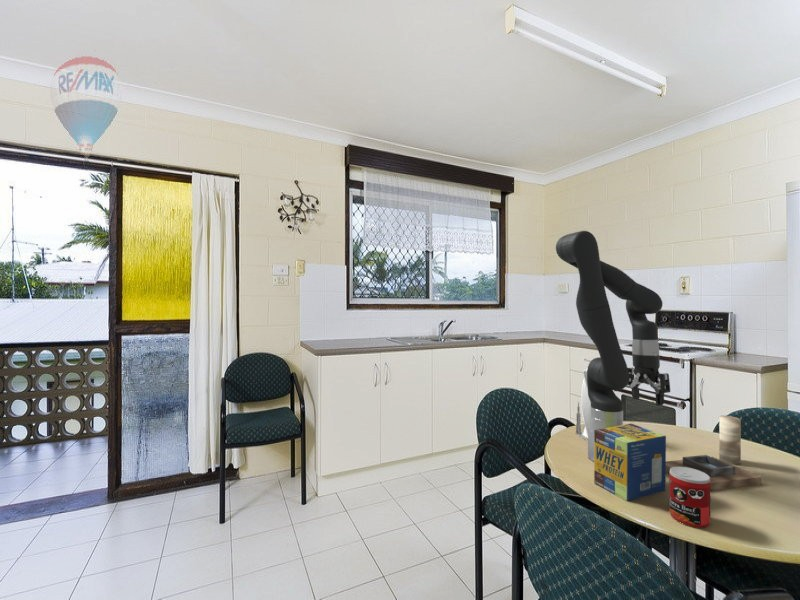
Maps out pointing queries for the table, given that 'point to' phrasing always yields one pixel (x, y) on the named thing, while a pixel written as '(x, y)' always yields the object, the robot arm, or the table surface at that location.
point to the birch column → (730, 439)
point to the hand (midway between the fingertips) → (647, 402)
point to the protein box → (630, 461)
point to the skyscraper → (584, 410)
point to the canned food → (689, 496)
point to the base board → (717, 471)
